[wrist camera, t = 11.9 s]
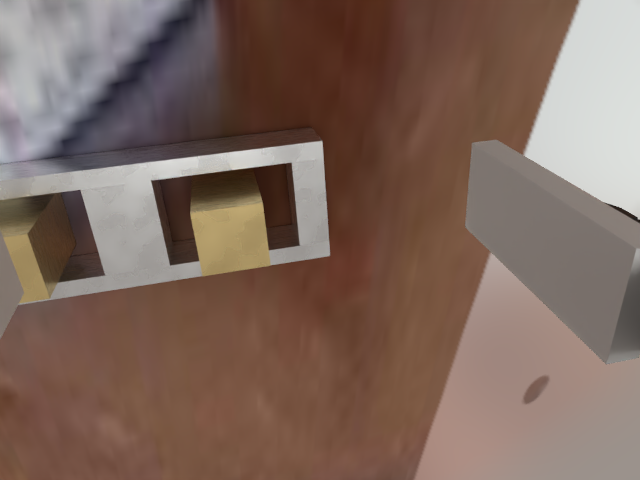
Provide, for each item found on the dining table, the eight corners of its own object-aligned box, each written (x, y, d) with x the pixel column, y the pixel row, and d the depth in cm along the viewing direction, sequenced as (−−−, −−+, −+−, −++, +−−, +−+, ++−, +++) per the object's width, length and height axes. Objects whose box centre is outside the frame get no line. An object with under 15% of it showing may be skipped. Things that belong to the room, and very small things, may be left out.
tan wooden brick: (-8, 196, 38) (-56, 245, 31) (59, 188, 38) (27, 234, 31) (13, 252, 40) (-28, 310, 33) (76, 243, 40) (49, 298, 33)
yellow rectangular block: (192, 172, 40) (190, 213, 33) (252, 165, 40) (262, 203, 33) (202, 227, 42) (202, 276, 35) (259, 218, 42) (270, 265, 35)
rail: (-95, 175, 36) (-127, 196, 32) (311, 127, 40) (322, 140, 36) (-45, 288, 40) (-69, 318, 36) (319, 234, 44) (330, 255, 40)
